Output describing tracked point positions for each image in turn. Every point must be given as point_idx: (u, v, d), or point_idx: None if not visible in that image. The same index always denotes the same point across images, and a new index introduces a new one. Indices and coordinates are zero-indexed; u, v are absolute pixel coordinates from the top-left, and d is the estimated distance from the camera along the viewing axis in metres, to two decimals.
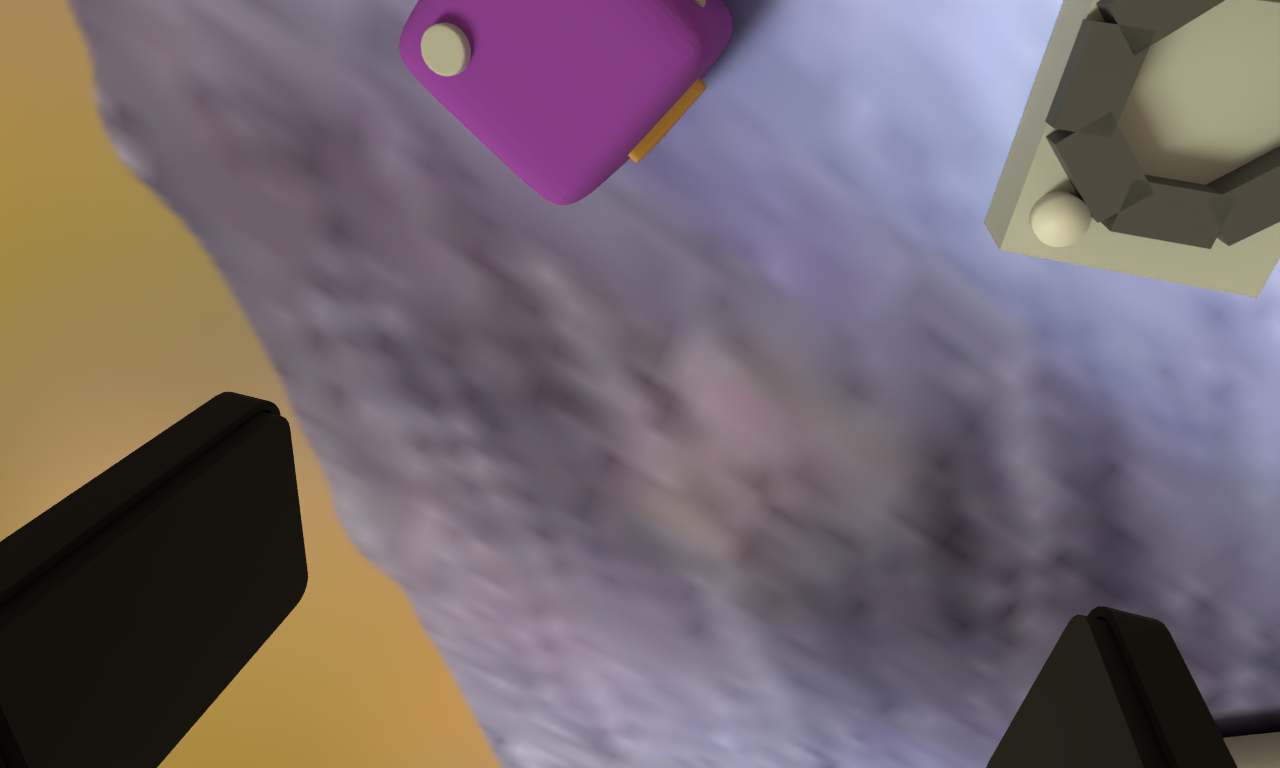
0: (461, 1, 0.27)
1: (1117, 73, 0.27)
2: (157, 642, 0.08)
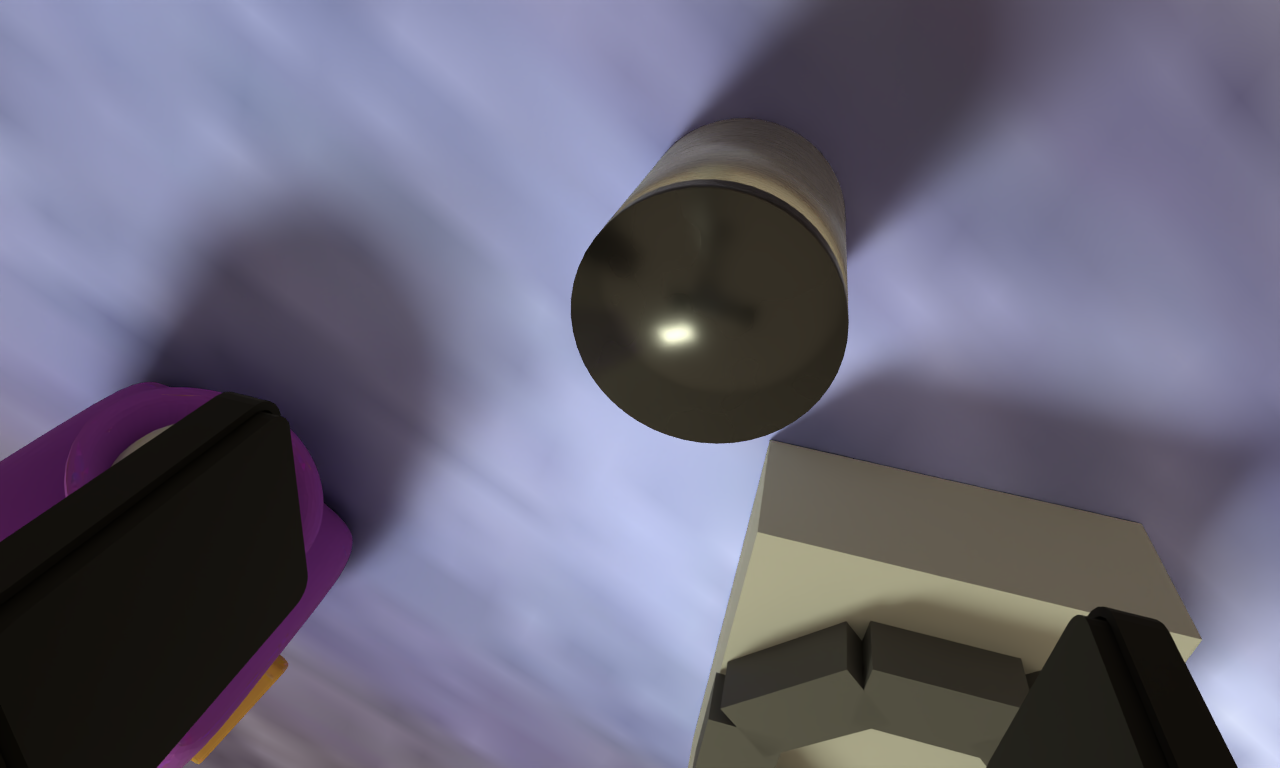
0: None
1: (748, 767, 0.20)
2: (157, 642, 0.08)
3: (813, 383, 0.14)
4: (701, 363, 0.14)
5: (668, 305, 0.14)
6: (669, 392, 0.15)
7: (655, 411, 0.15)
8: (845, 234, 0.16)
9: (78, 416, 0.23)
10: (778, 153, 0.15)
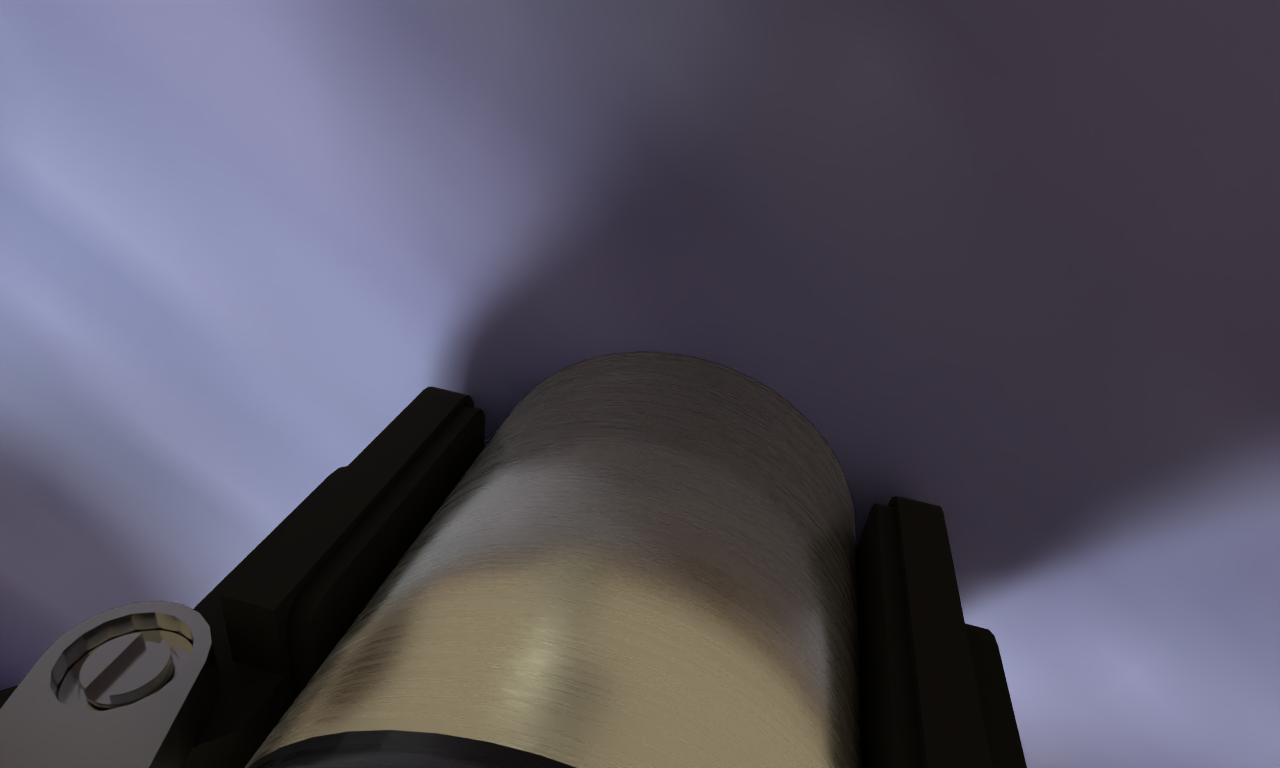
0: None
1: None
2: None
3: None
4: None
5: None
6: None
7: None
8: (856, 625, 0.08)
9: None
10: (709, 503, 0.07)
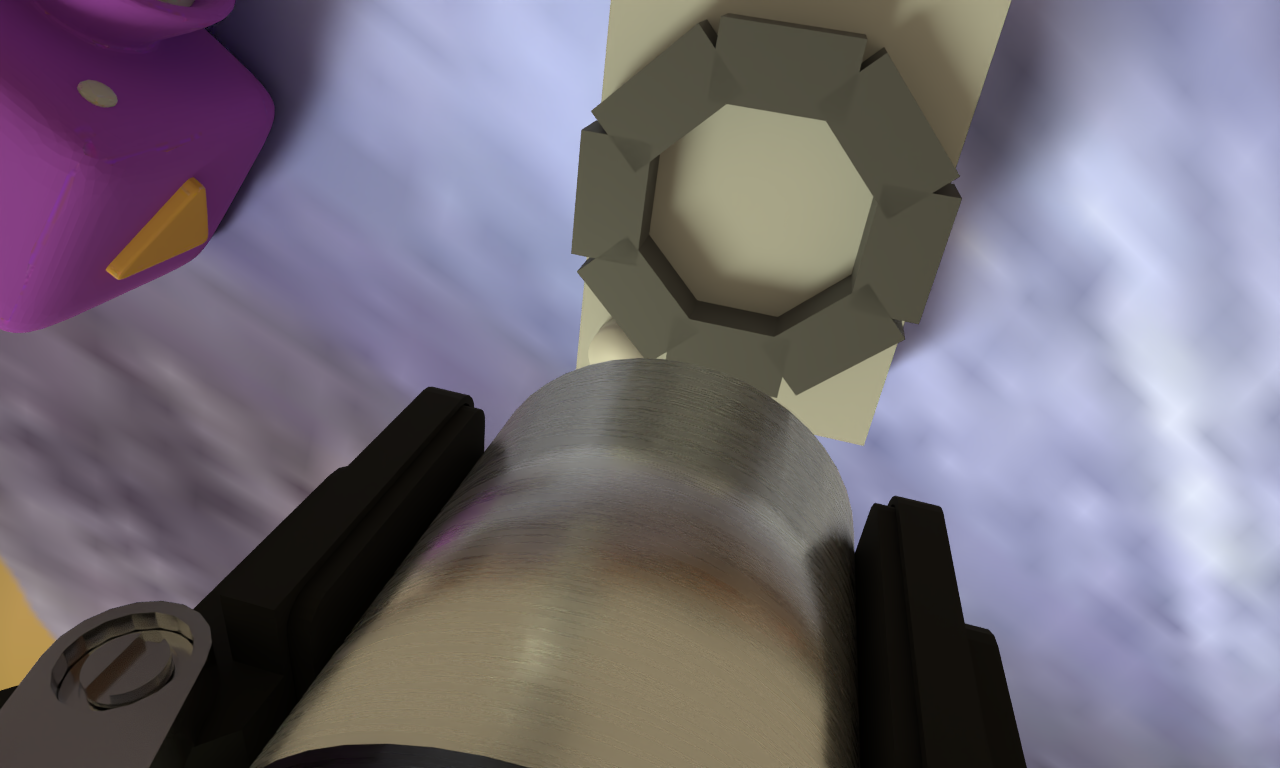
0: None
1: (622, 192, 0.21)
2: None
3: None
4: None
5: None
6: None
7: None
8: (855, 633, 0.08)
9: None
10: (707, 512, 0.07)
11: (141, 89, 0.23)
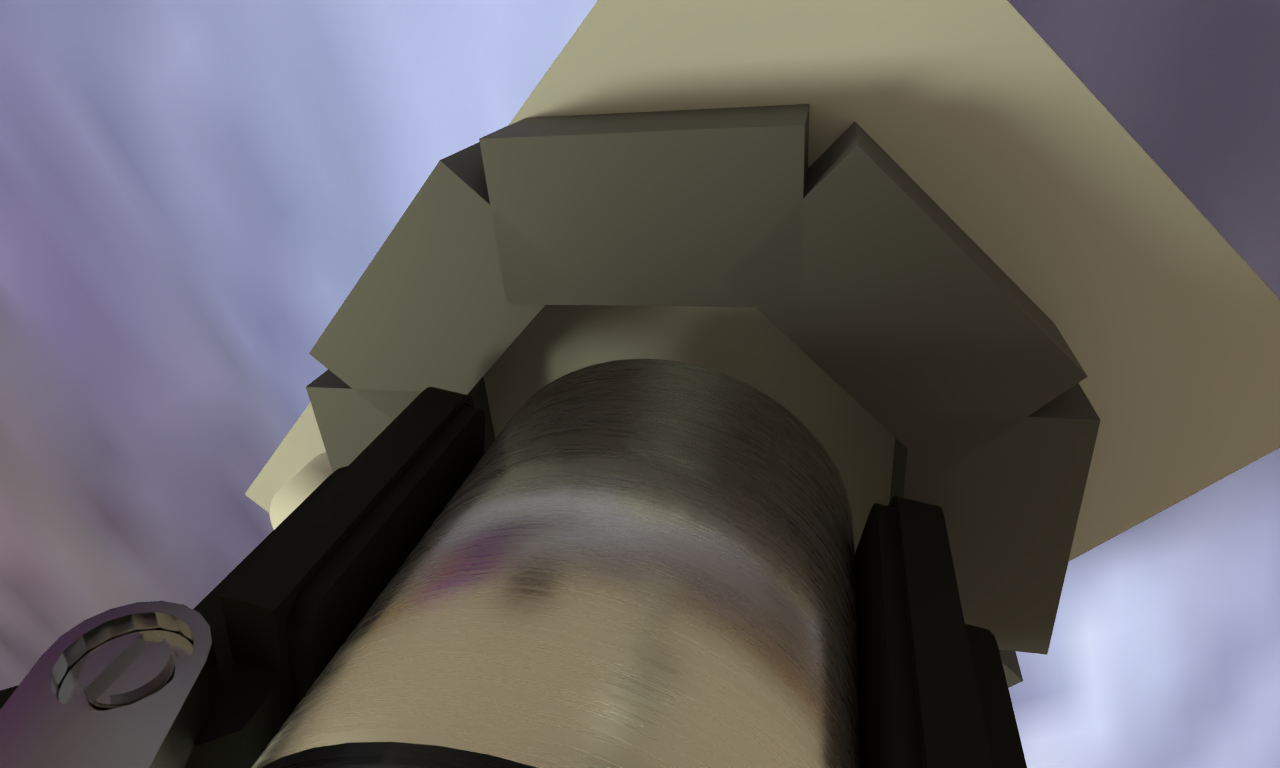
0: None
1: (463, 320, 0.10)
2: None
3: None
4: None
5: None
6: None
7: None
8: (855, 634, 0.08)
9: None
10: (709, 513, 0.07)
11: None
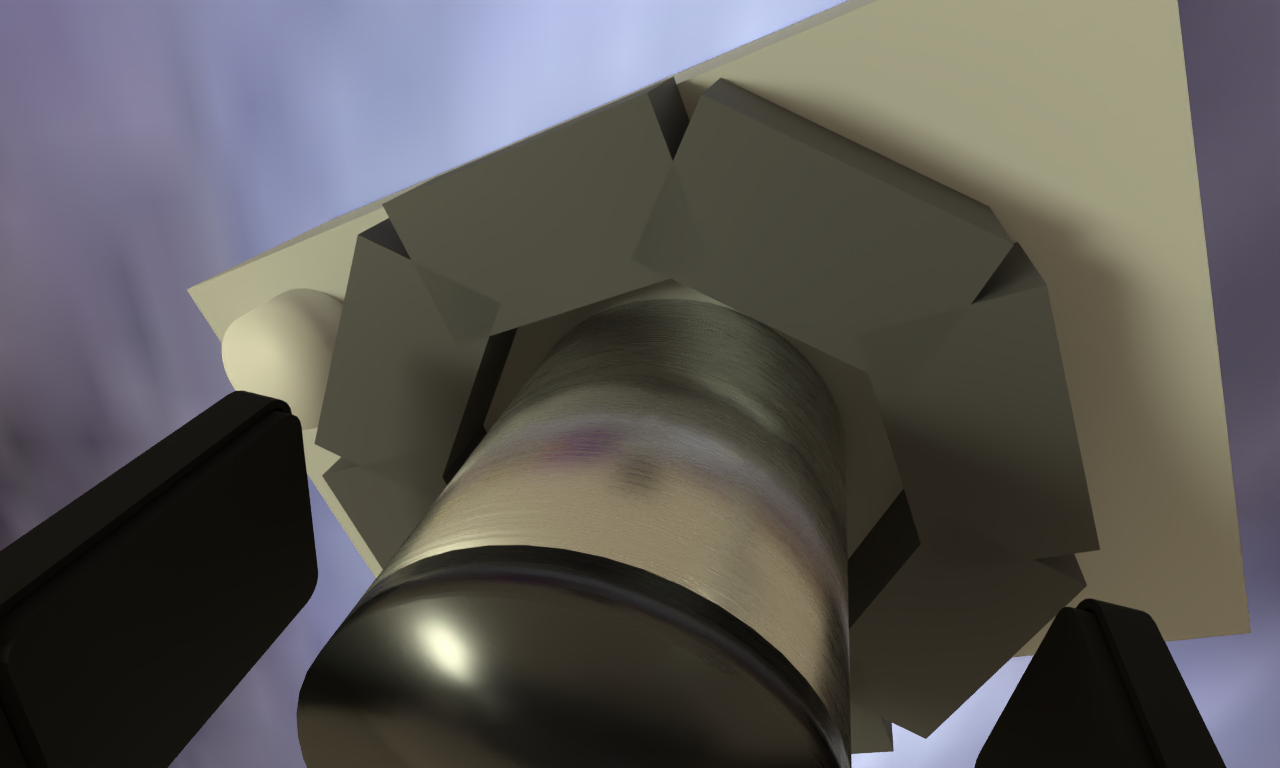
0: None
1: (575, 253, 0.09)
2: (172, 639, 0.08)
3: None
4: None
5: None
6: None
7: None
8: (845, 519, 0.09)
9: None
10: (722, 406, 0.08)
11: None
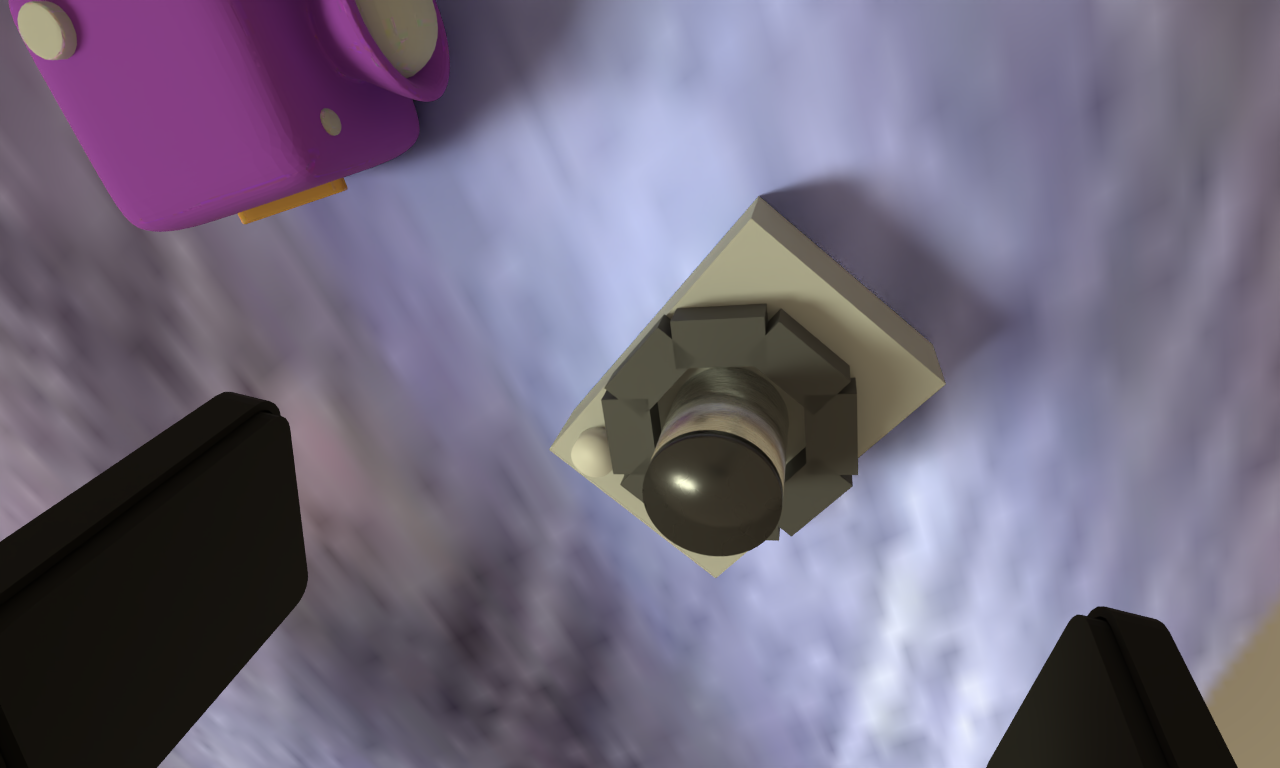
0: None
1: (660, 374, 0.30)
2: (157, 642, 0.08)
3: (774, 502, 0.27)
4: (719, 516, 0.27)
5: (690, 497, 0.27)
6: (714, 535, 0.28)
7: (714, 547, 0.28)
8: (773, 410, 0.30)
9: None
10: (715, 394, 0.29)
11: (354, 120, 0.28)
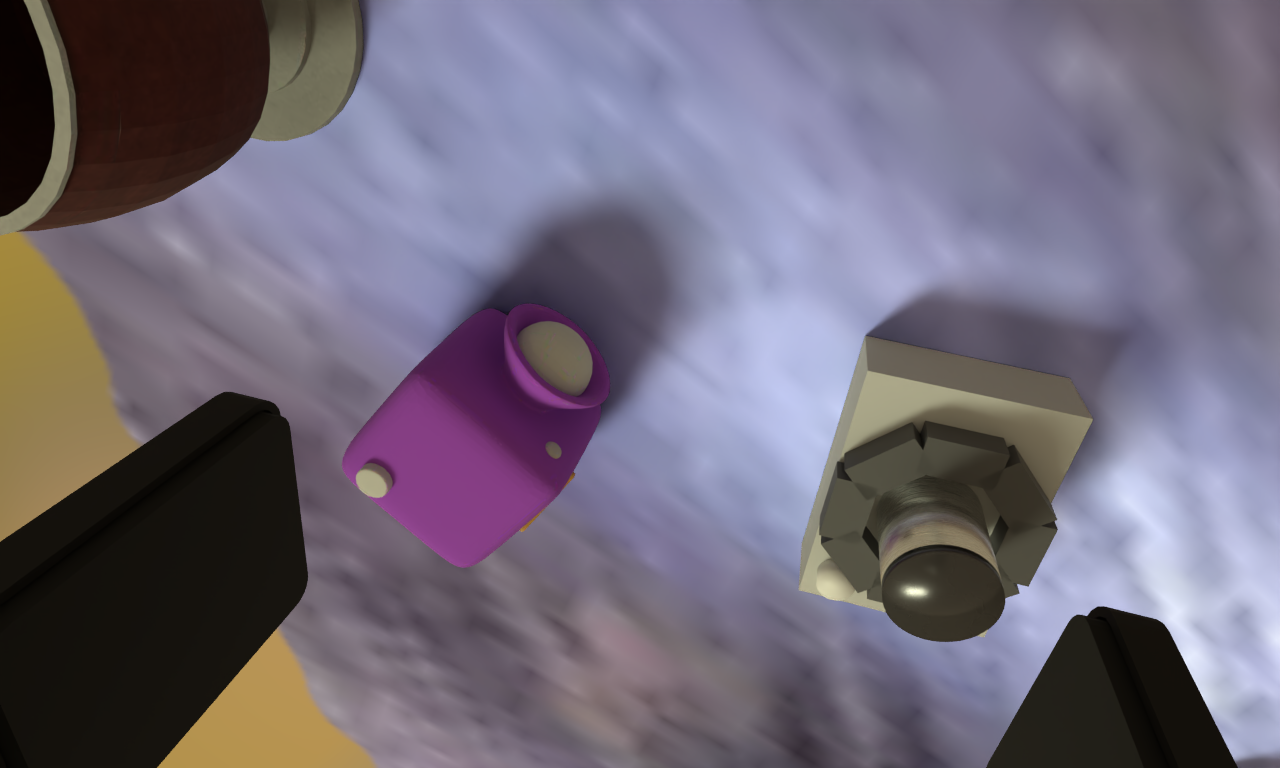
0: (384, 453, 0.37)
1: (856, 509, 0.37)
2: (157, 642, 0.08)
3: (993, 583, 0.32)
4: (955, 608, 0.33)
5: (925, 603, 0.33)
6: (959, 623, 0.33)
7: (964, 632, 0.34)
8: (959, 501, 0.35)
9: (469, 322, 0.40)
10: (906, 510, 0.35)
11: (564, 435, 0.39)
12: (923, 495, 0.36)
